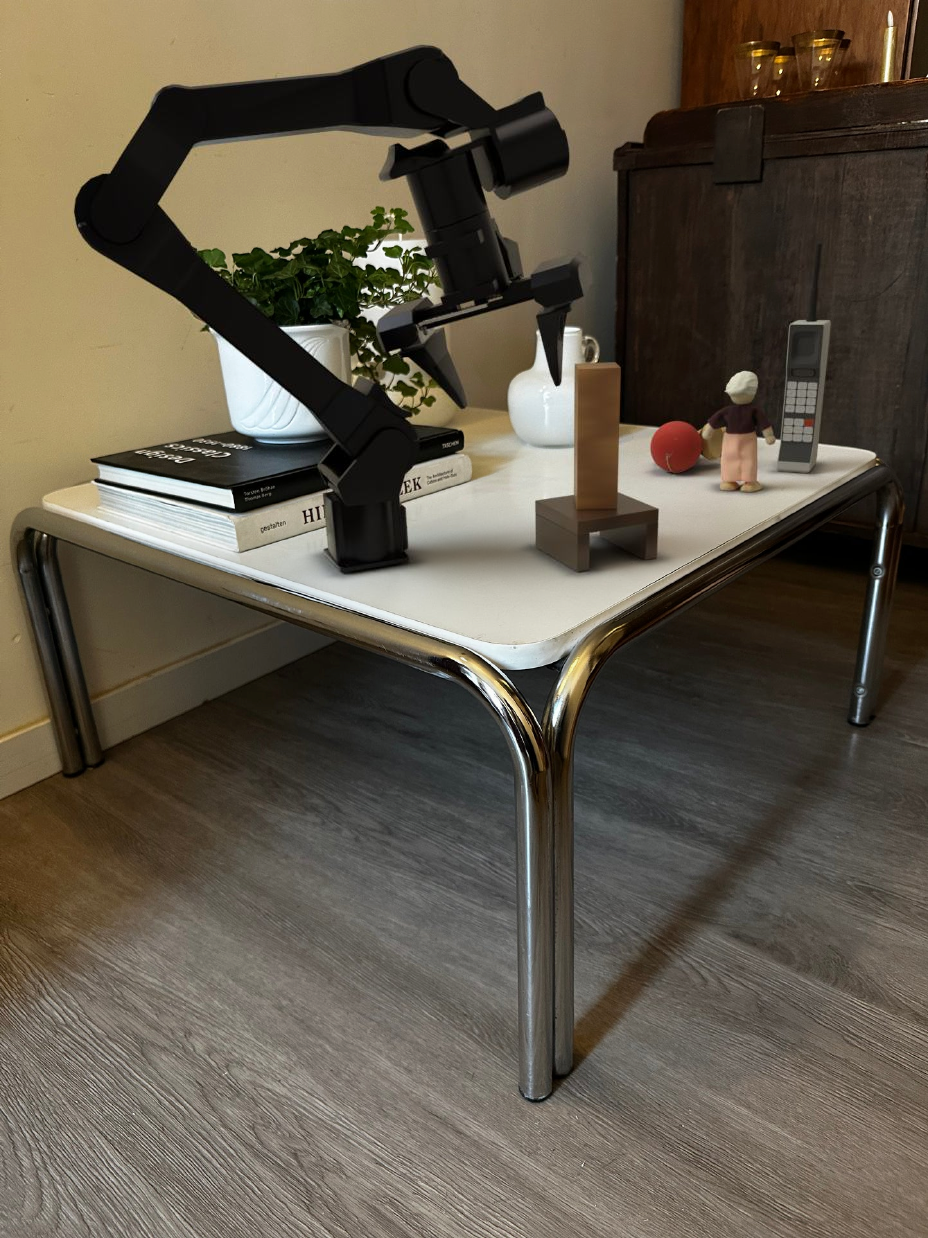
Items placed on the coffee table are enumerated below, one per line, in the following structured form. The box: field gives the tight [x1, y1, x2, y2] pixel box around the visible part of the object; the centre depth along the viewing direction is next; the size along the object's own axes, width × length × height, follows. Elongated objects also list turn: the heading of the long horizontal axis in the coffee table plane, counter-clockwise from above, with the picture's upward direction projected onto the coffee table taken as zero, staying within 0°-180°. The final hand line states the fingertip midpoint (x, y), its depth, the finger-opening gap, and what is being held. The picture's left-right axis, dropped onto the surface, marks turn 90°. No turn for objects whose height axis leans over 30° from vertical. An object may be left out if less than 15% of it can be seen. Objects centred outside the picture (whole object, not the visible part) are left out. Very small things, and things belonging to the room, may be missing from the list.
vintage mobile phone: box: [776, 242, 832, 474], centre depth 106 cm, size 4×5×25 cm
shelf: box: [534, 491, 660, 573], centre depth 83 cm, size 8×8×4 cm
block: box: [573, 361, 622, 510], centre depth 80 cm, size 4×4×12 cm
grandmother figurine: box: [702, 370, 777, 493], centre depth 101 cm, size 8×4×13 cm, turn 74°
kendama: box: [649, 420, 726, 474], centre depth 115 cm, size 8×6×18 cm
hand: (510, 396), depth 84 cm, fingers open, 9 cm apart
